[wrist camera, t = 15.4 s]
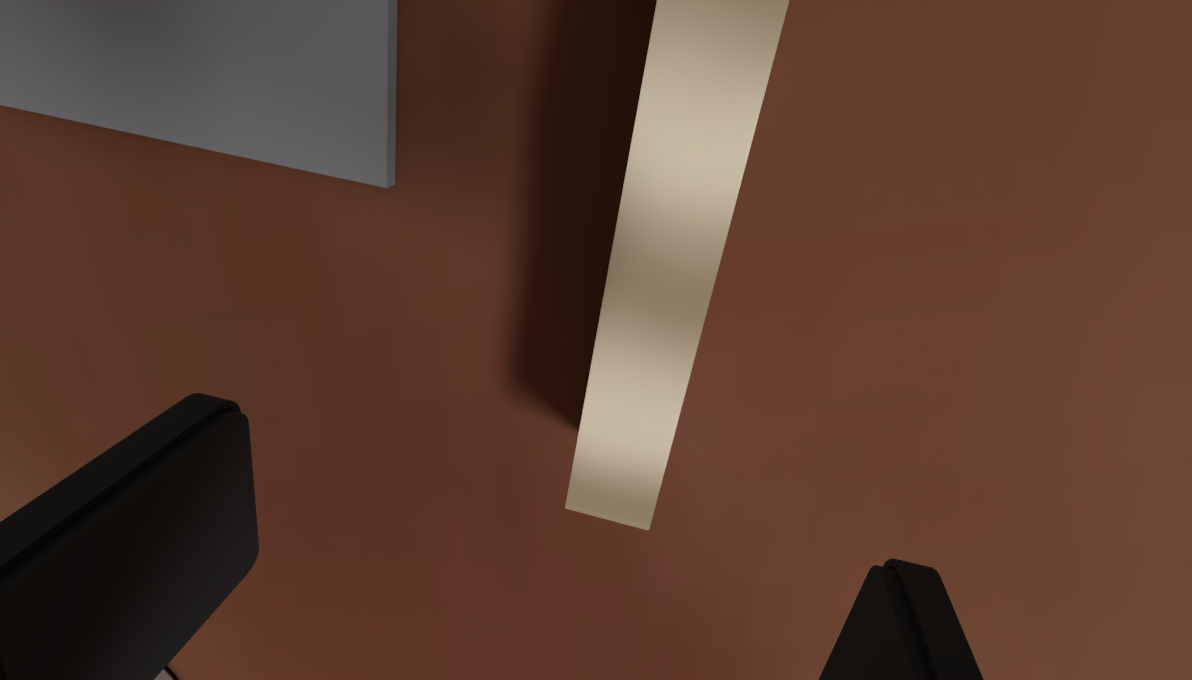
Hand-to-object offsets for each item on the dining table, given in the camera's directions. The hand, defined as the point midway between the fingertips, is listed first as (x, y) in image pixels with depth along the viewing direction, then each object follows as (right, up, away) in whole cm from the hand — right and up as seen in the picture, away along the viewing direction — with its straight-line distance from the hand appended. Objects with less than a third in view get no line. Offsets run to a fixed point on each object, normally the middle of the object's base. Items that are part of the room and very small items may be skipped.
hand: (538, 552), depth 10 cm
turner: (+3, +6, +8) cm, 11 cm away
